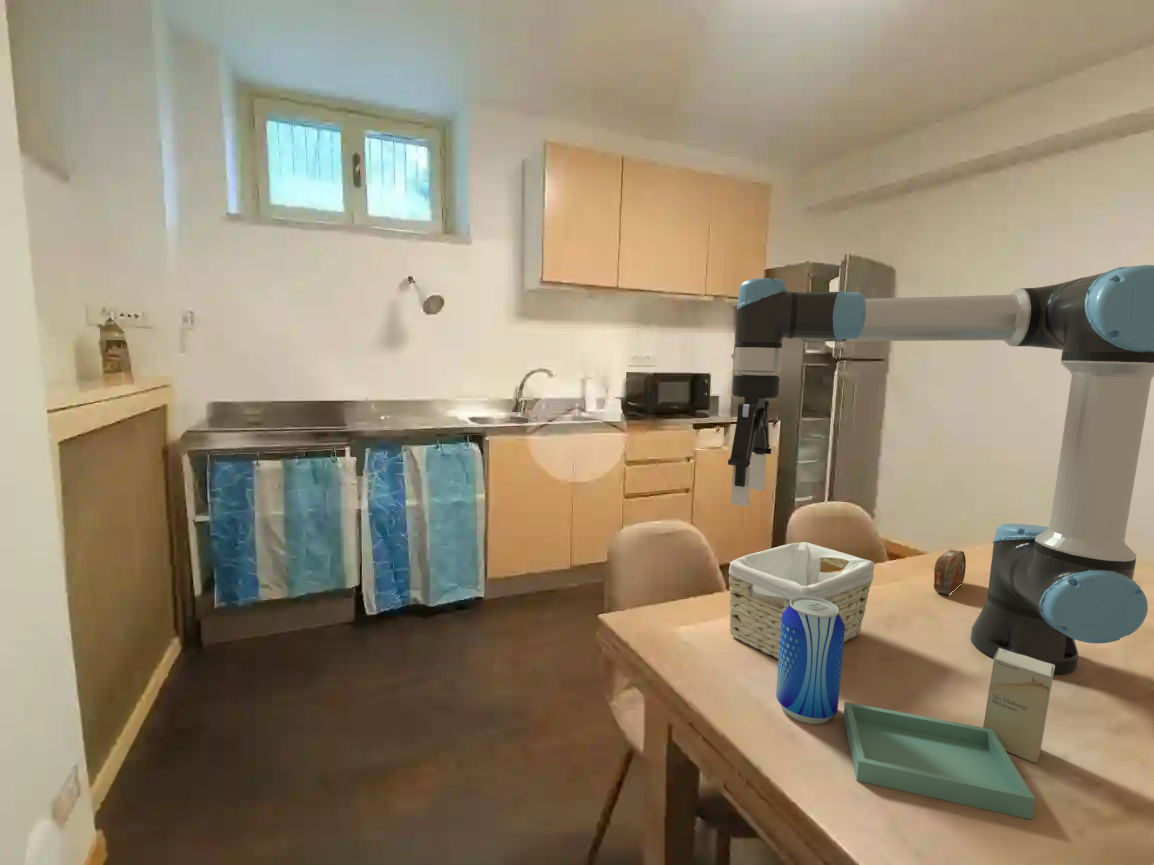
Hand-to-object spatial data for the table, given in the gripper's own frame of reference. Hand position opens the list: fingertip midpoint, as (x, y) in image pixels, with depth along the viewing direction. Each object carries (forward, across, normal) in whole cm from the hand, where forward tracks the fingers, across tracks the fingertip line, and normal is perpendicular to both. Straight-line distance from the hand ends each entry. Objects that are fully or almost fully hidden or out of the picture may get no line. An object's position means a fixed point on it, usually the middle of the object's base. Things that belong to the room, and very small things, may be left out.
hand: (748, 496), depth 101 cm
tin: (+27, -51, +36) cm, 68 cm away
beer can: (+27, +15, +13) cm, 34 cm away
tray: (+27, +19, +28) cm, 43 cm away
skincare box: (+27, +9, +38) cm, 48 cm away
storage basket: (+27, -9, +9) cm, 30 cm away
